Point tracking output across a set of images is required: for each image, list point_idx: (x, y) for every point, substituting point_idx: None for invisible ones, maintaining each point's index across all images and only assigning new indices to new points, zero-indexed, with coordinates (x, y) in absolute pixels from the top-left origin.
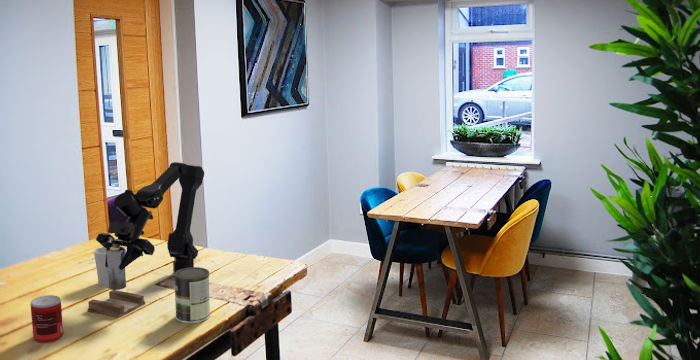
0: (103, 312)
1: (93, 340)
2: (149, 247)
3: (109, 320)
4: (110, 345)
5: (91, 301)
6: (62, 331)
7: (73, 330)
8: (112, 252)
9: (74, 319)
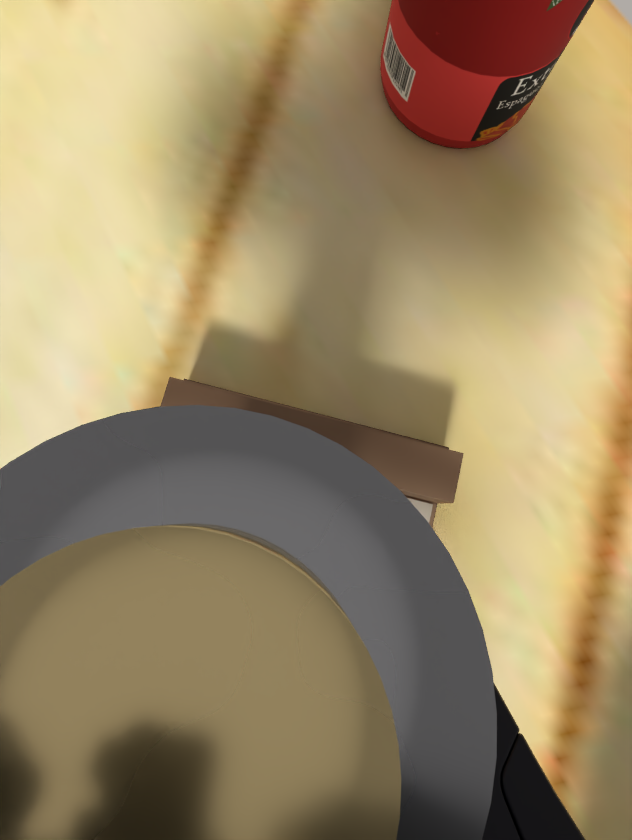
0: (313, 413)
1: (191, 78)
2: None
3: (230, 336)
4: (71, 35)
5: (440, 457)
6: (387, 76)
7: (369, 176)
8: (158, 408)
9: (452, 317)
